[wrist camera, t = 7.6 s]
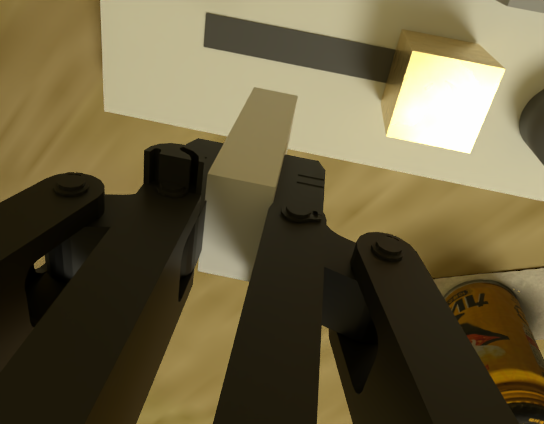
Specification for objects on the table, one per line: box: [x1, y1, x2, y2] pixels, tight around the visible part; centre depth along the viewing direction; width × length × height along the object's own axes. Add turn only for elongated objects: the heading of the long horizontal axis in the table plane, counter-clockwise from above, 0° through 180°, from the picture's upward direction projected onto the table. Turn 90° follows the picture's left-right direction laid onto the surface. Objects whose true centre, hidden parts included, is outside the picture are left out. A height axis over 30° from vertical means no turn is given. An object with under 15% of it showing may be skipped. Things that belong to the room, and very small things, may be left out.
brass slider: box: [380, 29, 505, 153], centre depth 23 cm, size 4×4×5 cm
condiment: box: [433, 268, 544, 424], centre depth 33 cm, size 7×8×12 cm
